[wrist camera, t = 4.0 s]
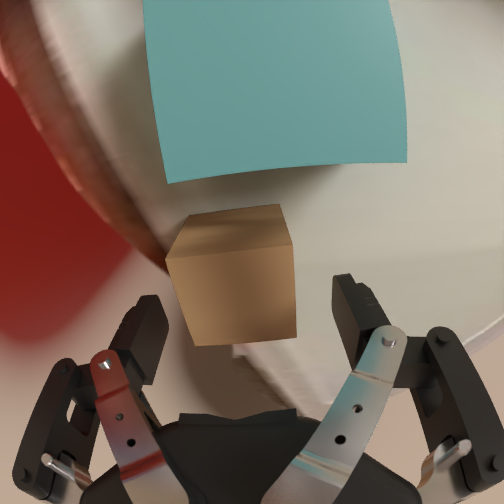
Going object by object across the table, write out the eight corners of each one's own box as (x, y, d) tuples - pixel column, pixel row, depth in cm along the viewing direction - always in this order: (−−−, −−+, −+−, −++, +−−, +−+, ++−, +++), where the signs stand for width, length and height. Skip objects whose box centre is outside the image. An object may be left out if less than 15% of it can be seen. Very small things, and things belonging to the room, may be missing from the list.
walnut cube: (206, 288, 17) (195, 346, 13) (189, 214, 15) (164, 259, 10) (285, 279, 17) (296, 337, 12) (279, 203, 15) (292, 244, 10)
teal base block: (194, 161, 14) (167, 184, 9) (173, 11, 9) (141, -26, 5) (360, 145, 13) (406, 162, 9) (340, 0, 9) (376, -37, 4)
